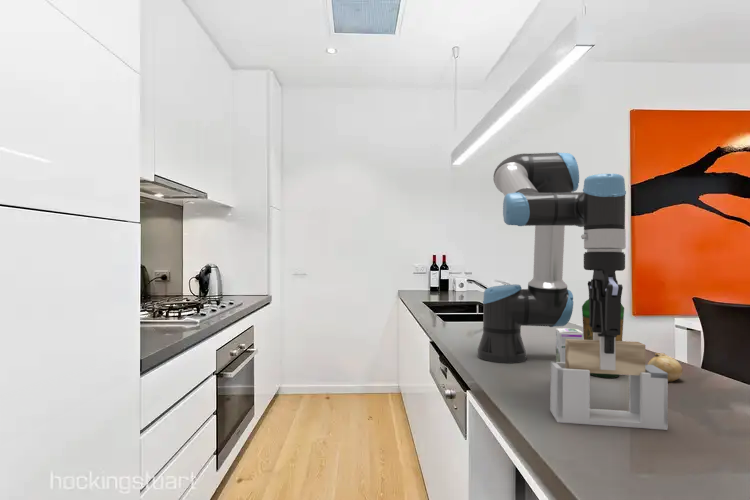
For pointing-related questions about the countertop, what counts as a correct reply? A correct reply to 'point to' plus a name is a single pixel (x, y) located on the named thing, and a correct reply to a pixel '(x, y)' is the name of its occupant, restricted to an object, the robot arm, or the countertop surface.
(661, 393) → the white open holder
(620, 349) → the tan wooden block
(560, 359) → the syrup box
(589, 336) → the bottle
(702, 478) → the countertop surface
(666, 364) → the tan round lump
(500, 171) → the robot arm
